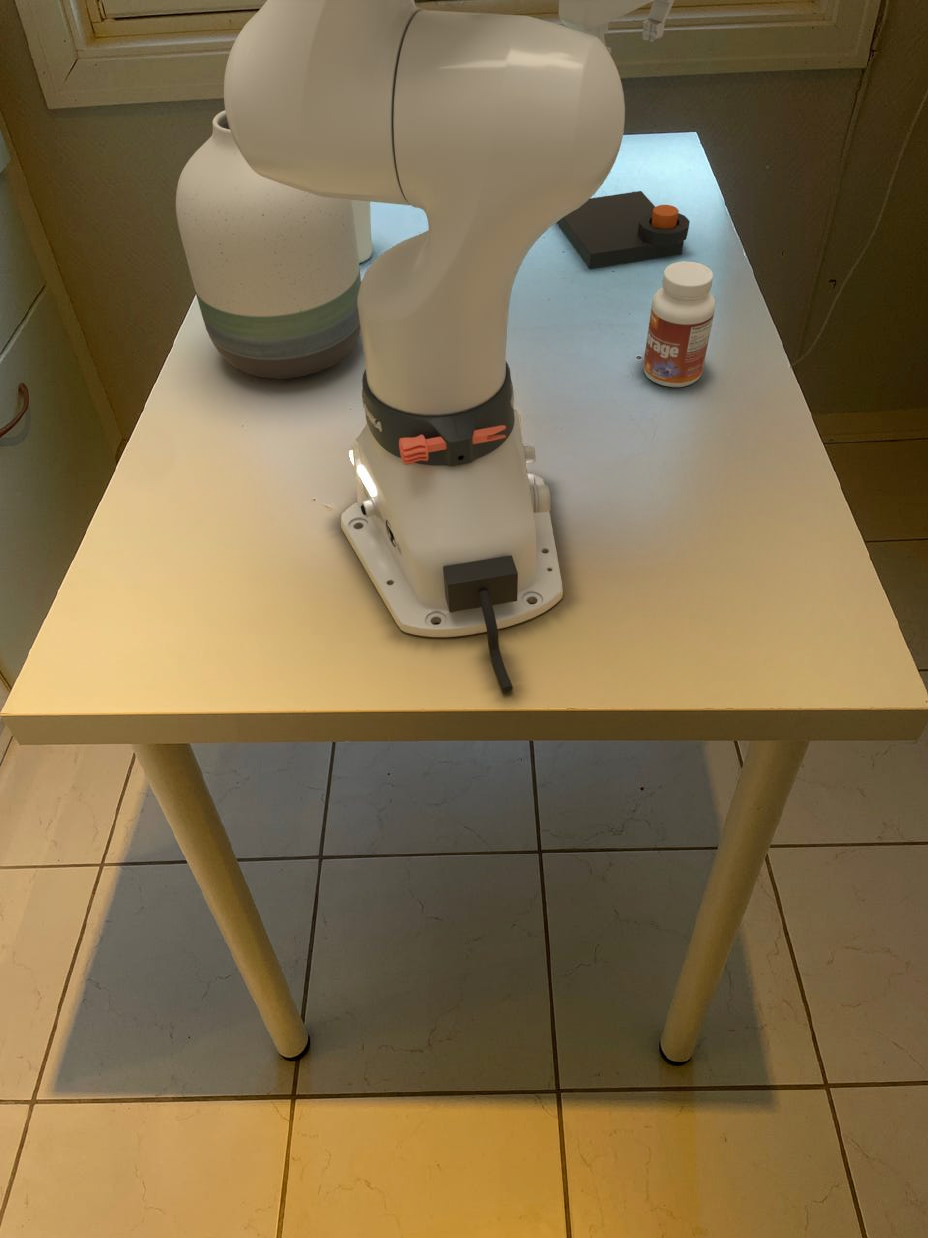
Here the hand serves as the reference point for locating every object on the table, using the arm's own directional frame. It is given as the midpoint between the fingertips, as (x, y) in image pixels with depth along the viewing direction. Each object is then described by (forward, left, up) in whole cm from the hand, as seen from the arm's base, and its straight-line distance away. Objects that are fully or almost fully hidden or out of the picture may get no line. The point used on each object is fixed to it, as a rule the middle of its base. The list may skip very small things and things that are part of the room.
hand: (625, 52), depth 99 cm
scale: (+2, -2, -22) cm, 22 cm away
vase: (-12, +41, -22) cm, 48 cm away
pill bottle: (-28, +3, -22) cm, 35 cm away
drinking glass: (+7, +31, -22) cm, 39 cm away
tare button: (-3, -6, -19) cm, 20 cm away
